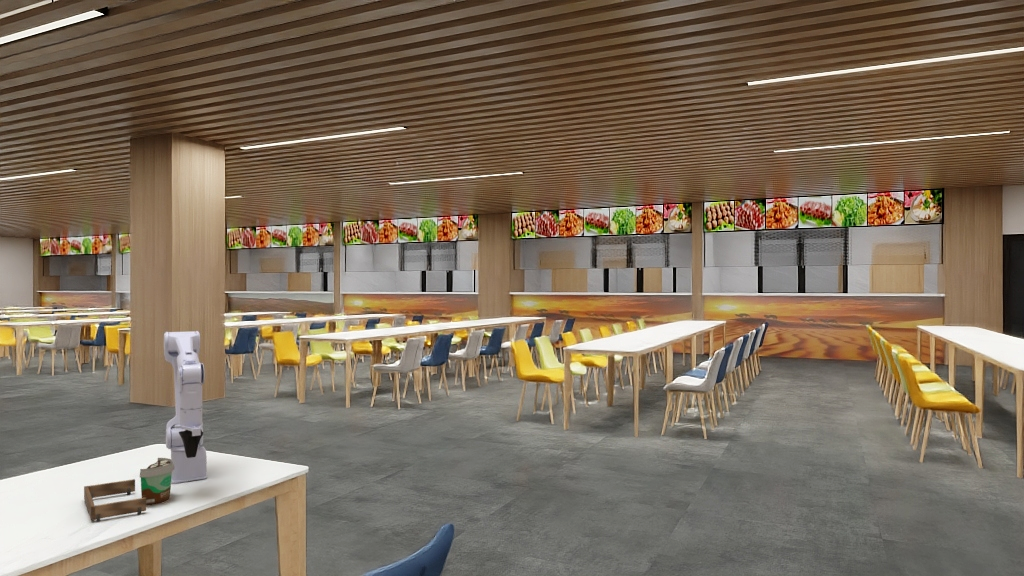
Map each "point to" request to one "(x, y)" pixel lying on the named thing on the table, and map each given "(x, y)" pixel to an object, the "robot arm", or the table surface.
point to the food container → (157, 481)
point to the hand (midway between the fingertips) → (191, 457)
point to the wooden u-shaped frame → (115, 507)
